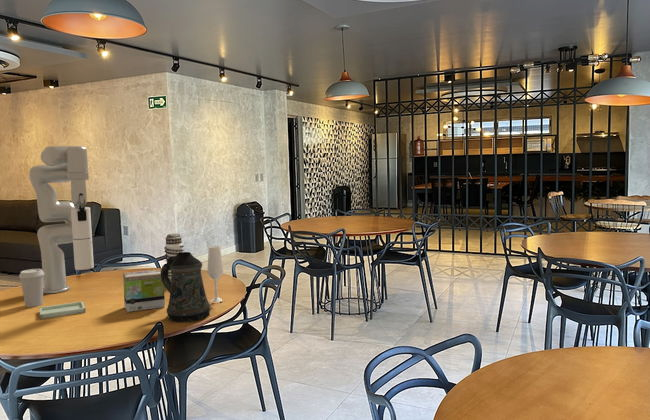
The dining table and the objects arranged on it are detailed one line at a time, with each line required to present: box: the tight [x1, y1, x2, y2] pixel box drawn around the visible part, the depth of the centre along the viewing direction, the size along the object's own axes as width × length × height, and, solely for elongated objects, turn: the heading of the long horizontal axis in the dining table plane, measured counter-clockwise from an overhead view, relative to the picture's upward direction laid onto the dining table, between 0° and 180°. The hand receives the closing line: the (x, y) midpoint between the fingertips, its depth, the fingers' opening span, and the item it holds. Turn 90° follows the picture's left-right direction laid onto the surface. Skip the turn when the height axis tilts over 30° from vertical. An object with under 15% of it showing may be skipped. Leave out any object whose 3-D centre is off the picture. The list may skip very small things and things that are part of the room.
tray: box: [39, 300, 86, 320], centre depth 204 cm, size 12×16×2 cm
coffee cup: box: [18, 268, 44, 308], centre depth 215 cm, size 10×10×15 cm
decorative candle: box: [164, 233, 185, 281], centre depth 247 cm, size 9×9×25 cm
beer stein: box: [160, 251, 211, 323], centre depth 194 cm, size 16×19×25 cm
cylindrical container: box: [71, 206, 95, 271], centre depth 207 cm, size 7×7×25 cm
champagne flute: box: [206, 245, 224, 302], centre depth 214 cm, size 7×7×24 cm
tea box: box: [122, 269, 166, 313], centre depth 208 cm, size 15×10×15 cm, turn 117°
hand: (81, 219), depth 206 cm, fingers closed on cylindrical container, 7 cm apart
